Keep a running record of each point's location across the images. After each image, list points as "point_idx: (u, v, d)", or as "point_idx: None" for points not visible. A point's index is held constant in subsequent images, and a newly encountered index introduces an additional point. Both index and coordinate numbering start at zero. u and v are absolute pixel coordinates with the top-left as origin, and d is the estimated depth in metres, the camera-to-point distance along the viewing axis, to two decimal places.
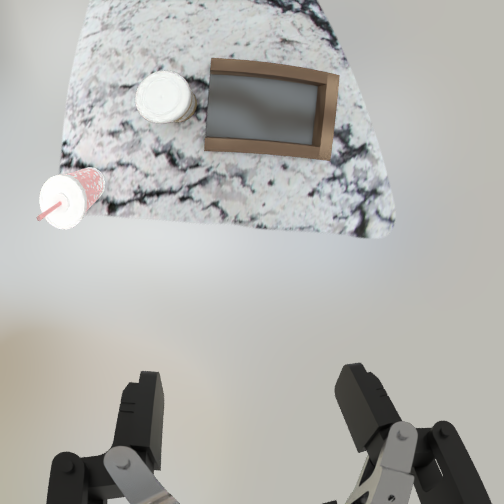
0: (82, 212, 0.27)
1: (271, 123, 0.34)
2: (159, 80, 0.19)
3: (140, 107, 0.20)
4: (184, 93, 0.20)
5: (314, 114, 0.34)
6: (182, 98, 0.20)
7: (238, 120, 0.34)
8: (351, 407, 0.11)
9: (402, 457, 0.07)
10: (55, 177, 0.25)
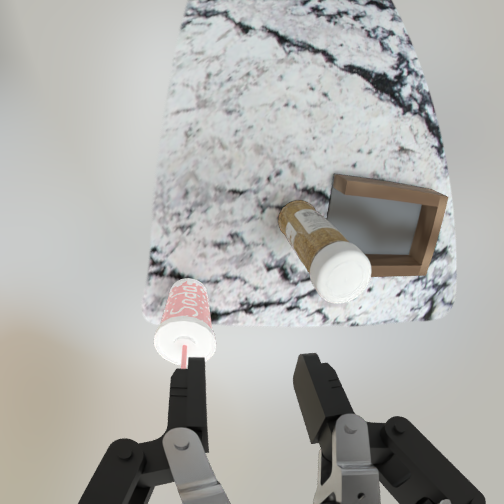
0: (212, 353, 0.28)
1: (381, 238, 0.35)
2: (347, 263, 0.20)
3: (322, 290, 0.21)
4: (367, 276, 0.21)
5: (416, 227, 0.35)
6: (365, 281, 0.21)
7: (353, 236, 0.34)
8: (305, 397, 0.11)
9: (357, 450, 0.08)
10: (178, 322, 0.26)
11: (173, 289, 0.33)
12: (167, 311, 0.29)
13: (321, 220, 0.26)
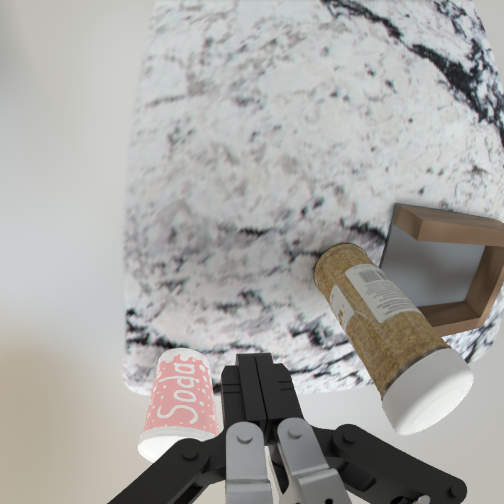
0: None
1: (439, 286, 0.24)
2: (449, 392, 0.09)
3: (403, 429, 0.10)
4: (464, 395, 0.10)
5: (477, 268, 0.24)
6: (458, 402, 0.10)
7: (409, 287, 0.23)
8: None
9: (309, 455, 0.07)
10: (169, 437, 0.15)
11: (161, 365, 0.22)
12: (153, 408, 0.18)
13: (393, 292, 0.15)
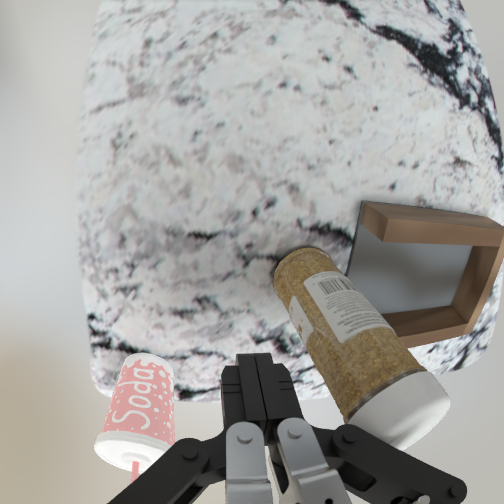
0: None
1: (420, 290, 0.23)
2: (420, 422, 0.08)
3: None
4: (440, 418, 0.09)
5: (464, 269, 0.23)
6: (434, 425, 0.09)
7: (384, 292, 0.22)
8: None
9: (309, 455, 0.07)
10: (119, 441, 0.14)
11: (123, 370, 0.21)
12: (110, 412, 0.17)
13: (357, 305, 0.14)
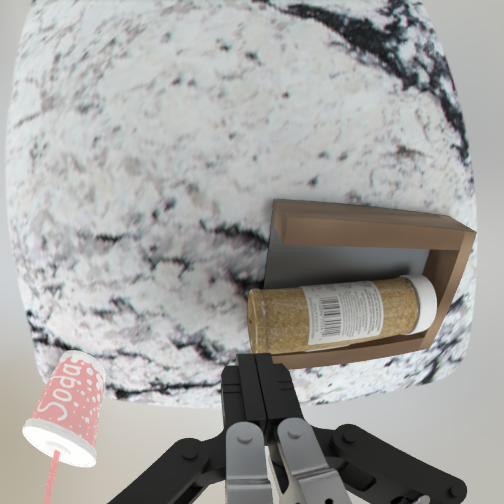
0: (93, 462, 0.15)
1: None
2: None
3: None
4: None
5: None
6: None
7: None
8: None
9: (309, 455, 0.07)
10: (37, 428, 0.13)
11: (57, 365, 0.20)
12: (38, 402, 0.15)
13: (360, 314, 0.17)
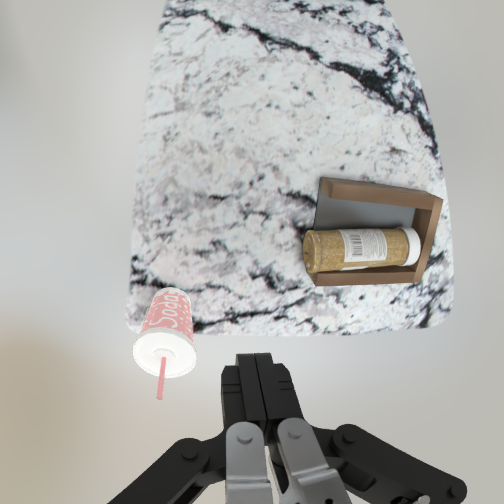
0: (192, 365, 0.26)
1: None
2: None
3: None
4: None
5: None
6: None
7: None
8: None
9: (309, 455, 0.07)
10: (156, 334, 0.24)
11: (155, 298, 0.31)
12: (147, 321, 0.27)
13: (373, 244, 0.29)
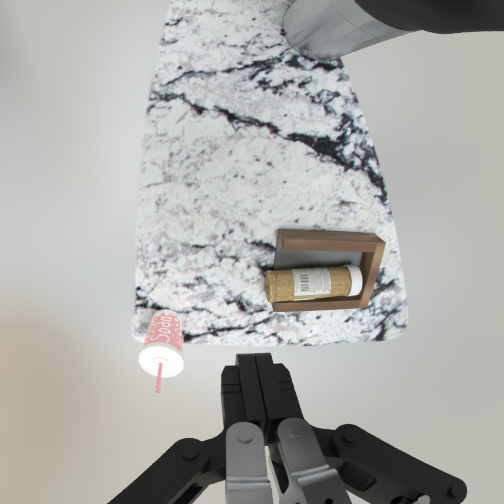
0: (181, 369, 0.36)
1: None
2: None
3: None
4: None
5: (358, 266, 0.43)
6: None
7: None
8: None
9: (309, 455, 0.07)
10: (155, 347, 0.34)
11: (154, 318, 0.41)
12: (148, 337, 0.37)
13: (318, 282, 0.39)
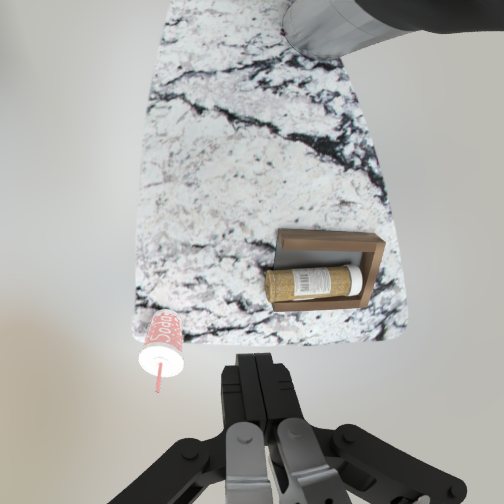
0: (181, 368, 0.36)
1: None
2: None
3: None
4: None
5: (358, 266, 0.43)
6: None
7: None
8: None
9: (309, 455, 0.07)
10: (155, 347, 0.34)
11: (154, 318, 0.41)
12: (148, 337, 0.37)
13: (318, 282, 0.39)
